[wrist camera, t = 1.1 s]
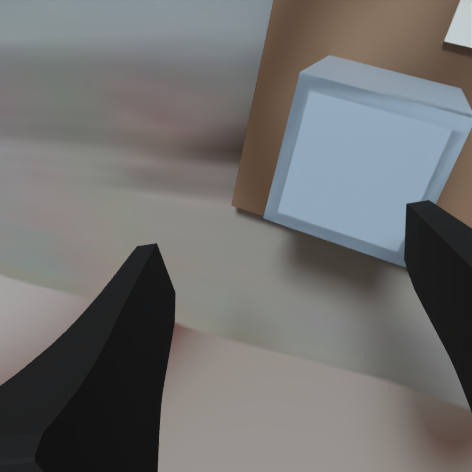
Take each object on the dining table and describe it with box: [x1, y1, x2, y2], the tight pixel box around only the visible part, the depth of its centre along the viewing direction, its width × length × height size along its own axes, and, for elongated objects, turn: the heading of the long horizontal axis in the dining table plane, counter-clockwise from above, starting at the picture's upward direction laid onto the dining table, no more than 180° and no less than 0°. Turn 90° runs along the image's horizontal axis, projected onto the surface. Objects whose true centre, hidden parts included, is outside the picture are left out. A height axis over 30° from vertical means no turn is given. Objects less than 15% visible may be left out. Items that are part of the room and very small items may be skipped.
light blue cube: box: [263, 55, 472, 267], centre depth 19 cm, size 6×6×6 cm
